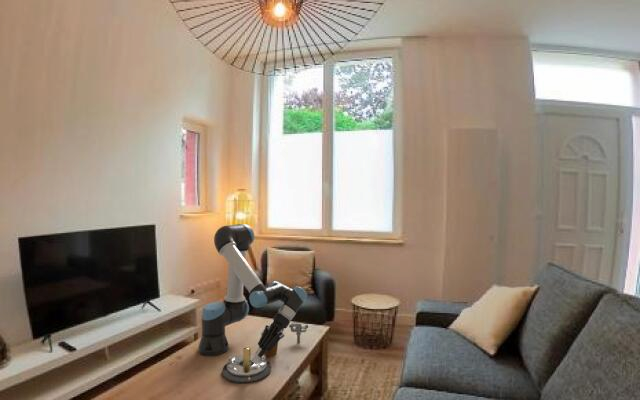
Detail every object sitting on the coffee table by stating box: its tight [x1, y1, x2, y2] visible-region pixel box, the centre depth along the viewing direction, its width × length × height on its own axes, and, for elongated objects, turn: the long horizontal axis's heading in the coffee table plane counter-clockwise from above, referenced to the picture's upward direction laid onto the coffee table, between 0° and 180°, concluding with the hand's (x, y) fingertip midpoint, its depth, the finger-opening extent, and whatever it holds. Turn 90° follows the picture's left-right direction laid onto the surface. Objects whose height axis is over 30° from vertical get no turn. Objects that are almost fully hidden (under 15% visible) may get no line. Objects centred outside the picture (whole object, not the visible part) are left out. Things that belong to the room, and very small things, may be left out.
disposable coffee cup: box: [260, 328, 279, 358], centre depth 191 cm, size 10×10×12 cm
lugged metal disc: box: [226, 346, 268, 377], centre depth 173 cm, size 18×18×12 cm
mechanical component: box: [288, 322, 309, 344], centre depth 206 cm, size 3×10×10 cm, turn 89°
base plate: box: [221, 360, 272, 385], centre depth 173 cm, size 22×22×2 cm
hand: (253, 362), depth 167 cm, fingers closed
